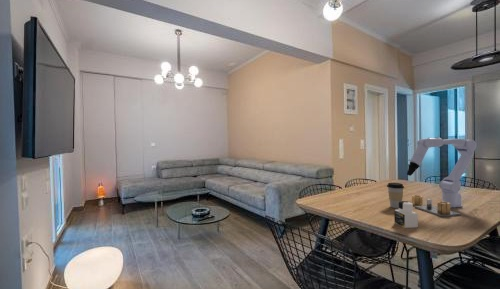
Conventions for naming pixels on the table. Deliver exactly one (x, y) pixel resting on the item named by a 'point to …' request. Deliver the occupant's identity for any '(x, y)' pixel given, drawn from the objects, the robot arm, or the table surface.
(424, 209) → the block
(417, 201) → the tan wooden cube
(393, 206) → the coffee cup
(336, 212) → the table surface
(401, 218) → the medicine bottle
